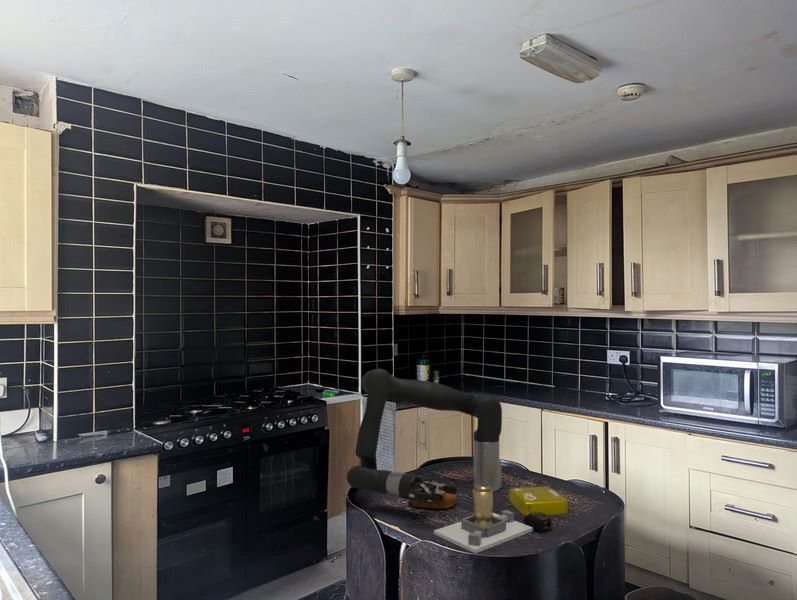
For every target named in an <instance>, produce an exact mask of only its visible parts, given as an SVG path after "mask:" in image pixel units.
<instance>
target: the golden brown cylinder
mask: <svg viewBox="0 0 797 600" xmlns="http://www.w3.org/2000/svg"><path fill="white" fill-rule="evenodd" d="M472 491H473V492H472V493H473V494H472V496H473V503H472V504H473V515H474V523H475V524H478V525H480V526H482V527H487V526H490V525H493V513H494V505H493V504H494V501H493V500H494V497H493V496H494V495H493V494H494V493H493V492H494V491H493V490H492V489H491V486H490V485H488V484H476V485H475V488H474V487H473V490H472Z"/></svg>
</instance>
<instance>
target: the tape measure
mask: <svg viewBox="0 0 797 600" xmlns="http://www.w3.org/2000/svg"><path fill="white" fill-rule="evenodd" d="M523 524H525V525H528V526H530V527H533V530H536V531H538V532H544V531H546V530H549V529H551V526H552V519H551V515H547V514H545V513H541V512H533V513H530V514H529V515H527V516H526V515H524V517H523Z"/></svg>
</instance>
